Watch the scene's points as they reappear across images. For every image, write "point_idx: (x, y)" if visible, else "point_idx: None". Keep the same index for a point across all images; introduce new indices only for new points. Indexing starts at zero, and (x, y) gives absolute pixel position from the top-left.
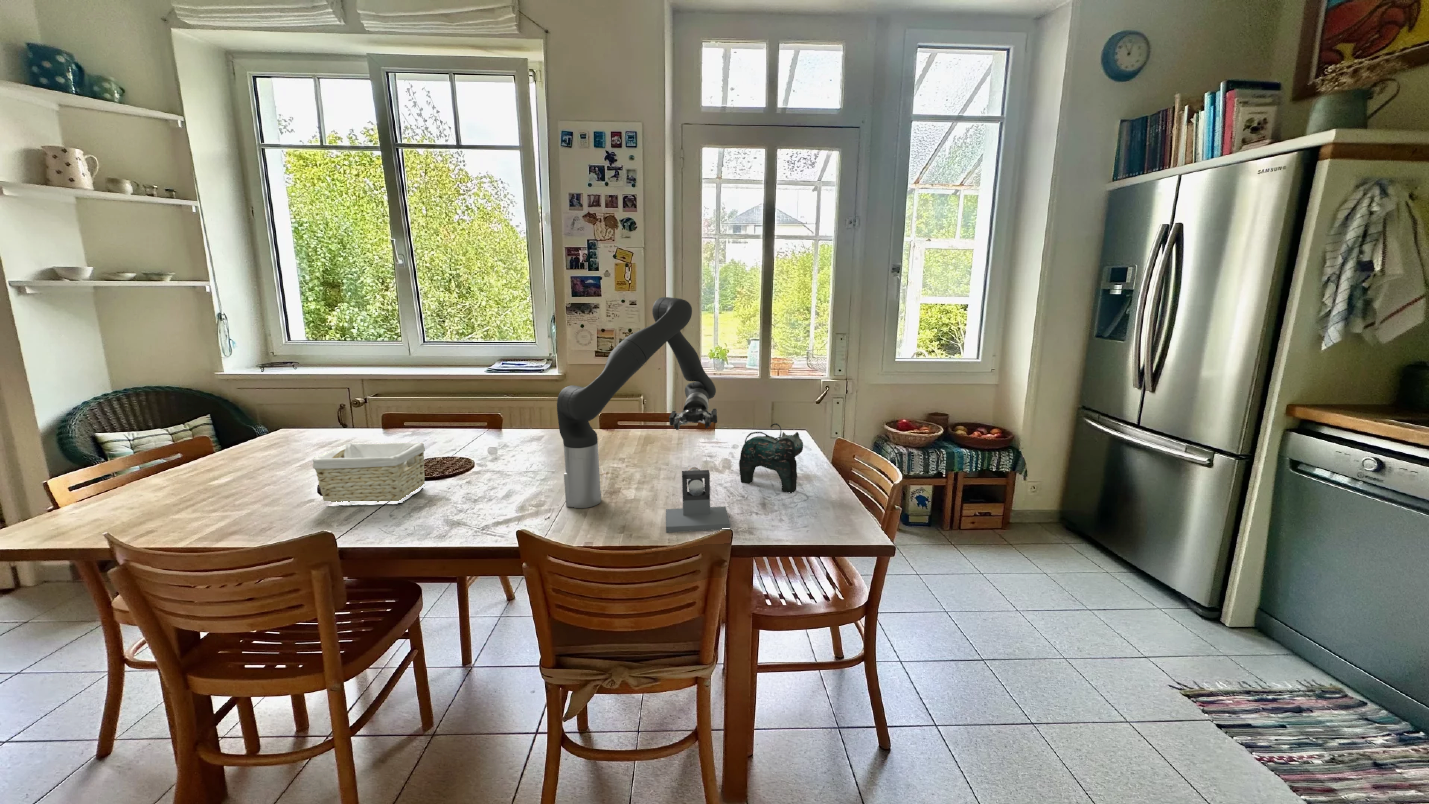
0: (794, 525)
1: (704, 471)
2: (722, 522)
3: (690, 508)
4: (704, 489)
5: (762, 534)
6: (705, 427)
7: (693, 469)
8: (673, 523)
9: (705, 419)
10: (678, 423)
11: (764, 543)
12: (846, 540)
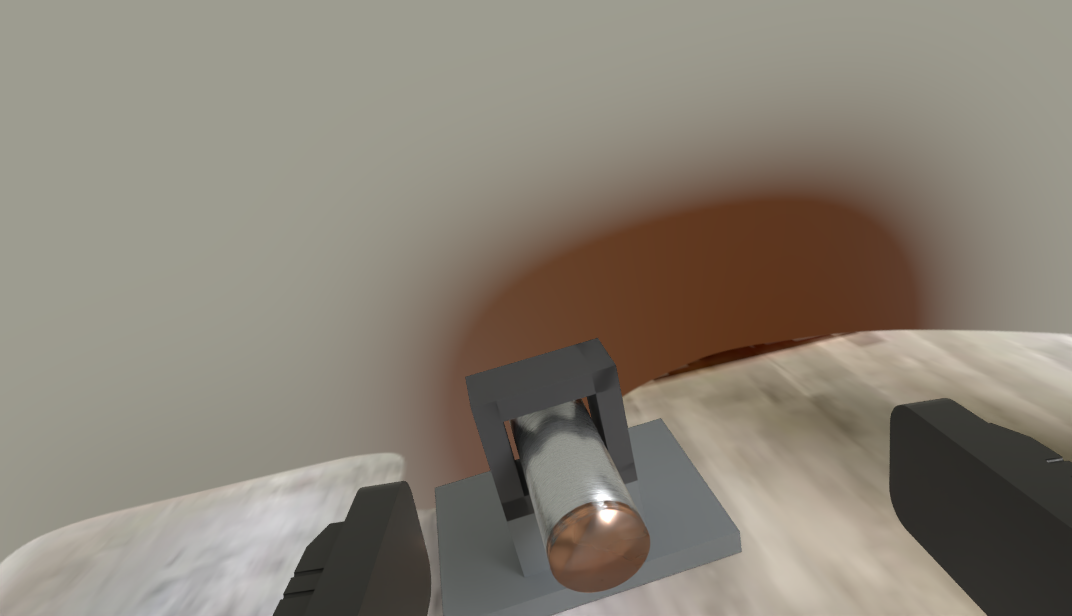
0: (194, 588)
1: (493, 389)
2: (463, 487)
3: None
4: (522, 489)
5: (337, 503)
6: (425, 558)
7: (585, 481)
8: (643, 441)
9: (375, 547)
10: (949, 478)
11: (348, 461)
12: (98, 532)
